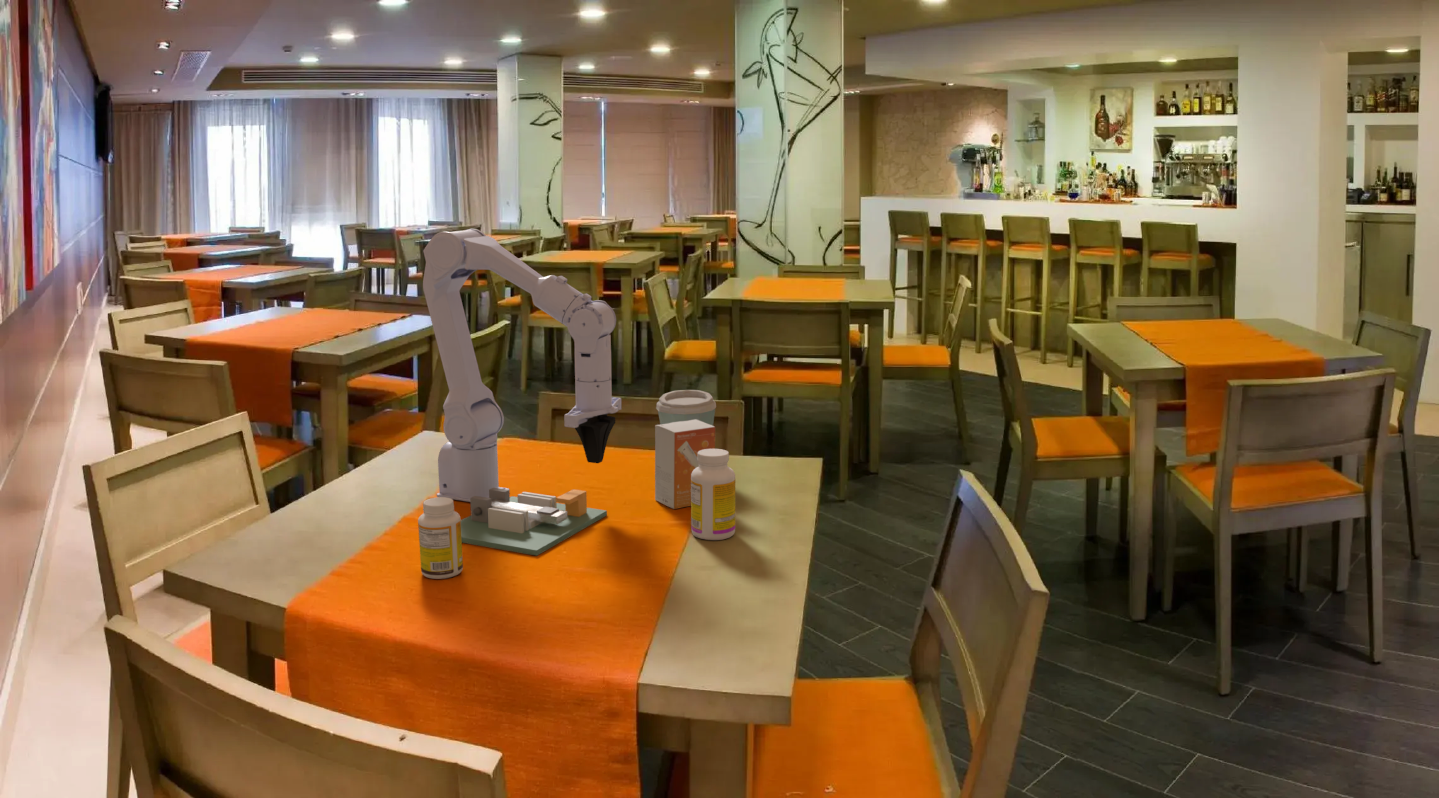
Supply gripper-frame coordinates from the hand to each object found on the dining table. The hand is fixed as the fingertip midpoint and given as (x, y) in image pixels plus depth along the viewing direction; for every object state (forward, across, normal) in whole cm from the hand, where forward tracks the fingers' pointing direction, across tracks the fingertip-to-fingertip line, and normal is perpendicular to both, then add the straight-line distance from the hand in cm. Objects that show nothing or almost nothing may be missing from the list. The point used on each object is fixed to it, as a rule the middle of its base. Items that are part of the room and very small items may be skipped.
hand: (594, 461), depth 174 cm
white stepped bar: (+6, -12, +5) cm, 15 cm away
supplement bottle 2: (+8, -4, -22) cm, 24 cm away
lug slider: (+7, -7, 0) cm, 10 cm away
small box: (+8, +10, -12) cm, 17 cm away
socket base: (+8, -12, +6) cm, 16 cm away
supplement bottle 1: (+8, -34, +4) cm, 35 cm away
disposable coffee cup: (+8, +22, -6) cm, 25 cm away
